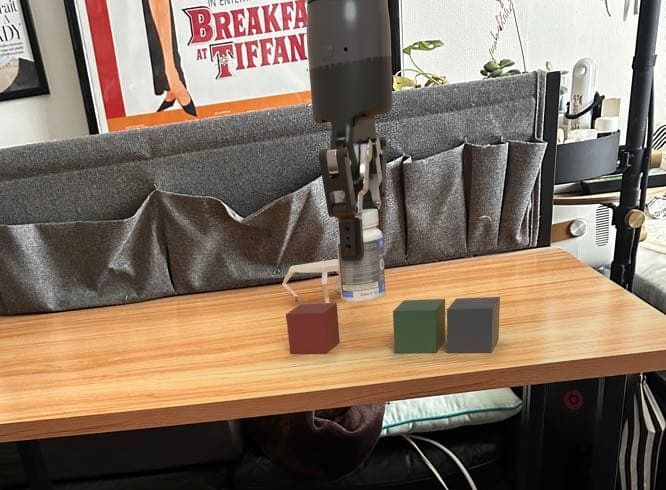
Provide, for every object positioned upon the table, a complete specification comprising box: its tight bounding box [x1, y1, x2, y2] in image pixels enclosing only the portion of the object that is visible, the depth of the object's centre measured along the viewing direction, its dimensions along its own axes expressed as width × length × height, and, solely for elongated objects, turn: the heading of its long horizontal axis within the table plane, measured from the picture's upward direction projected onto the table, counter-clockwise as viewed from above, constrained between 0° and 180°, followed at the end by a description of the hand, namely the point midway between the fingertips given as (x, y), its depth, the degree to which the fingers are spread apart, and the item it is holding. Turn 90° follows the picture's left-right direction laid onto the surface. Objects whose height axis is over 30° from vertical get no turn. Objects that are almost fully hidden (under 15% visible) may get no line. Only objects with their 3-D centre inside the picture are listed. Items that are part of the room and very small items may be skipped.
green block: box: [392, 298, 446, 354], centre depth 76 cm, size 4×4×4 cm
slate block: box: [446, 296, 501, 354], centre depth 73 cm, size 4×4×4 cm
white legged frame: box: [281, 258, 341, 303], centre depth 101 cm, size 12×8×5 cm
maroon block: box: [285, 302, 341, 355], centre depth 81 cm, size 4×4×4 cm
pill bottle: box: [335, 209, 386, 303], centre depth 75 cm, size 5×5×8 cm
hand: (361, 254), depth 74 cm, fingers closed on pill bottle, 4 cm apart
